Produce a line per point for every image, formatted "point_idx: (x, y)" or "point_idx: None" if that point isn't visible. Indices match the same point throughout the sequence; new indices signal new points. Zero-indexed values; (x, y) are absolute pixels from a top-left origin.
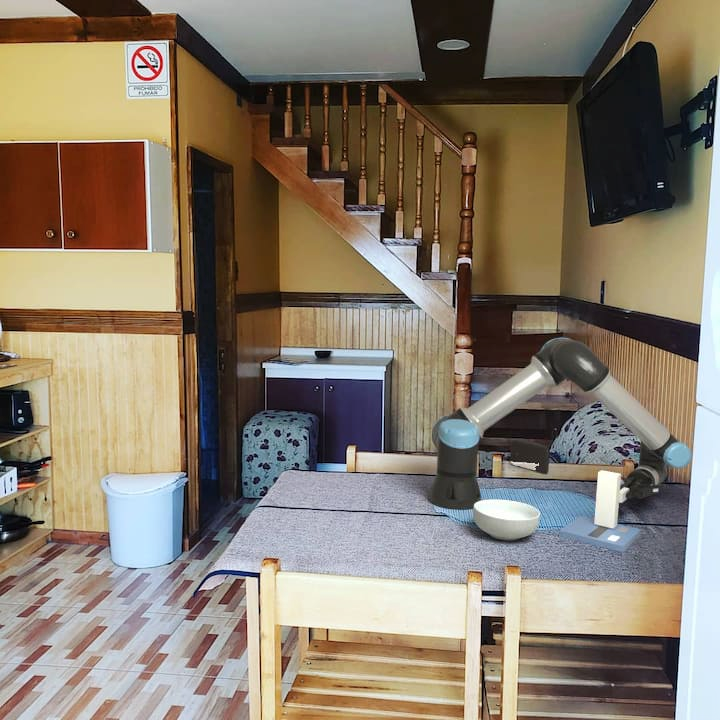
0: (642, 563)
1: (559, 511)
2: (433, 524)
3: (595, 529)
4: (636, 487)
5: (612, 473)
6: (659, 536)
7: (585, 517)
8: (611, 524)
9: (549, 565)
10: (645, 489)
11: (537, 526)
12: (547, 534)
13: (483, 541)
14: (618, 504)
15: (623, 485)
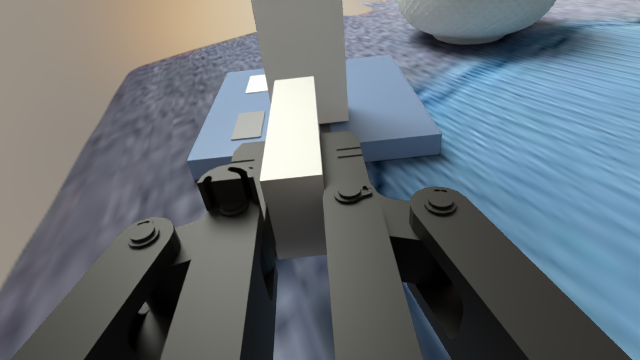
0: (186, 79)
1: (597, 179)
2: (587, 7)
3: None
4: (179, 300)
5: None
6: (118, 211)
7: (413, 130)
8: None
9: None
10: (36, 338)
11: (405, 10)
12: (416, 64)
13: None
14: (258, 38)
15: (373, 250)
